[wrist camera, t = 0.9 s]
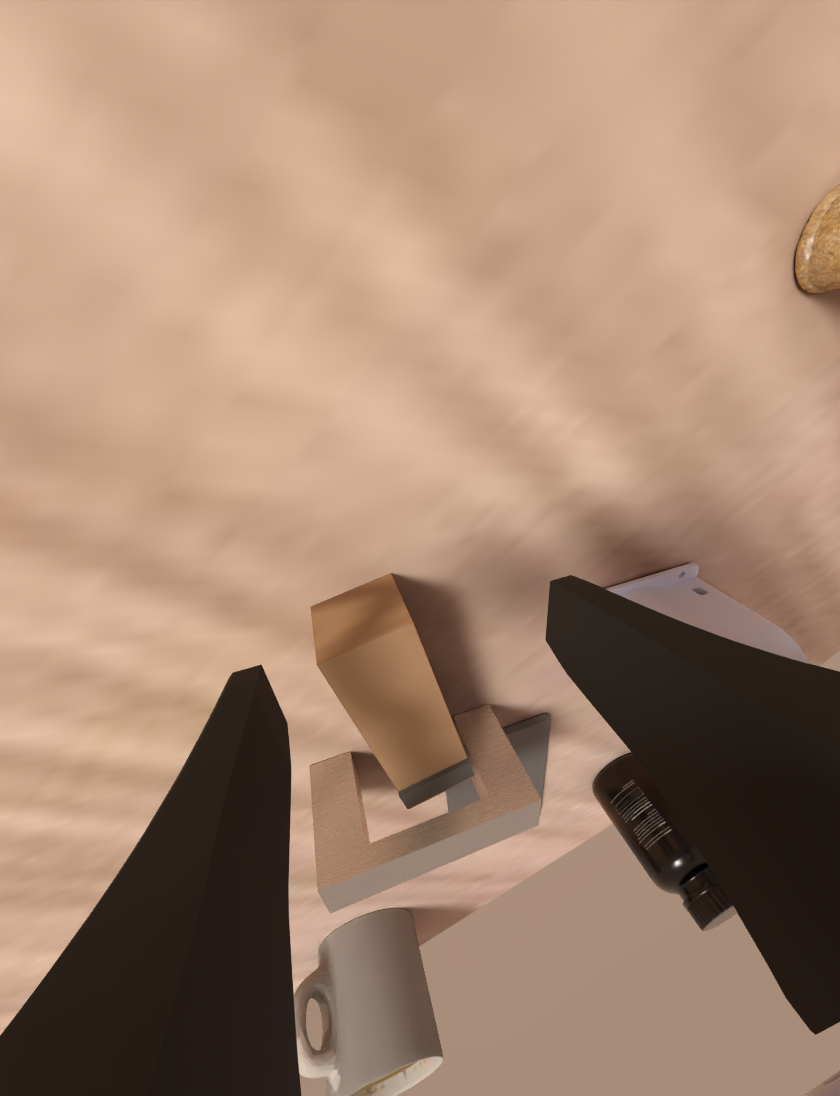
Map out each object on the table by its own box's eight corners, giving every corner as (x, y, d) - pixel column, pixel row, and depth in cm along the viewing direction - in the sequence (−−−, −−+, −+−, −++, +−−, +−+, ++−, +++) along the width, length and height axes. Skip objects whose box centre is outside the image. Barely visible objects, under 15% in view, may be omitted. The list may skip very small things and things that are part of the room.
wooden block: (389, 570, 21) (415, 627, 17) (449, 718, 29) (476, 781, 25) (310, 604, 21) (317, 670, 17) (392, 745, 28) (410, 813, 24)
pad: (546, 712, 32) (550, 718, 31) (536, 808, 39) (540, 815, 39) (440, 751, 30) (443, 758, 29) (452, 844, 38) (454, 850, 37)
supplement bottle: (590, 802, 43) (685, 948, 33) (588, 770, 39) (695, 924, 29) (645, 774, 43) (754, 908, 33) (648, 740, 40) (772, 880, 30)
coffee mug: (430, 909, 43) (465, 1048, 35) (370, 959, 45) (390, 1103, 37) (333, 904, 36) (349, 1076, 28) (267, 963, 38) (263, 1143, 30)
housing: (488, 704, 29) (541, 799, 23) (489, 729, 30) (538, 824, 25) (309, 765, 26) (317, 891, 20) (320, 790, 28) (330, 913, 22)
